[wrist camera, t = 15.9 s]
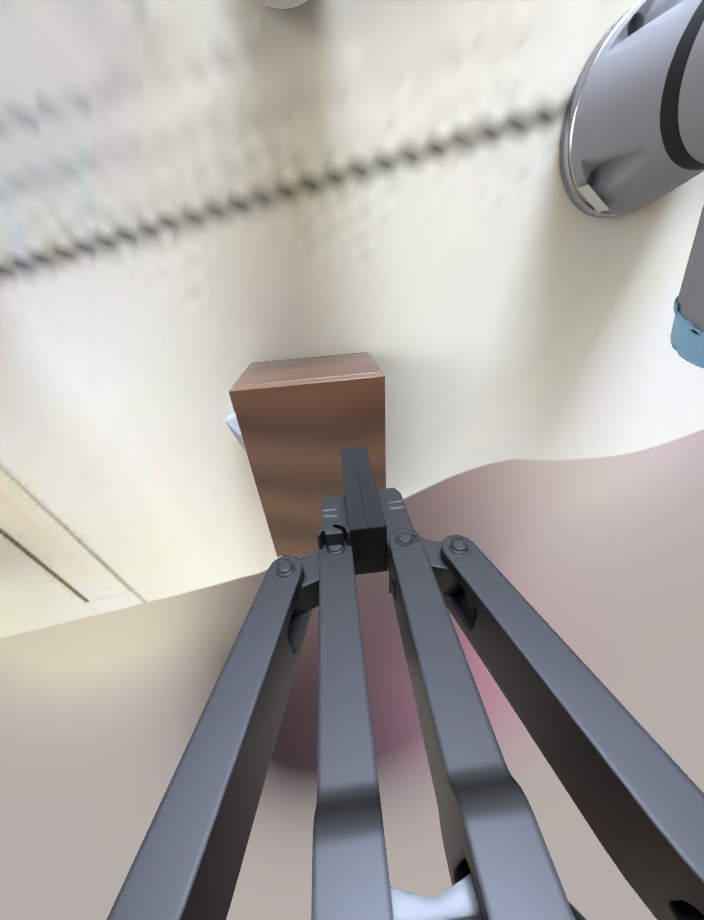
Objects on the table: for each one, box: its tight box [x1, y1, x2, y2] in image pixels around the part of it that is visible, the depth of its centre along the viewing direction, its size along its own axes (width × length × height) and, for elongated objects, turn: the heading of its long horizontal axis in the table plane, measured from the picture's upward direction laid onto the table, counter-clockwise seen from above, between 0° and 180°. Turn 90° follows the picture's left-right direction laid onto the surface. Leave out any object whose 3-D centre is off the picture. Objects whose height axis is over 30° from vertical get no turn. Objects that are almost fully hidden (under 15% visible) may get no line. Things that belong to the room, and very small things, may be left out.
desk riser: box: [229, 352, 386, 557], centre depth 39 cm, size 23×15×12 cm, turn 4°
